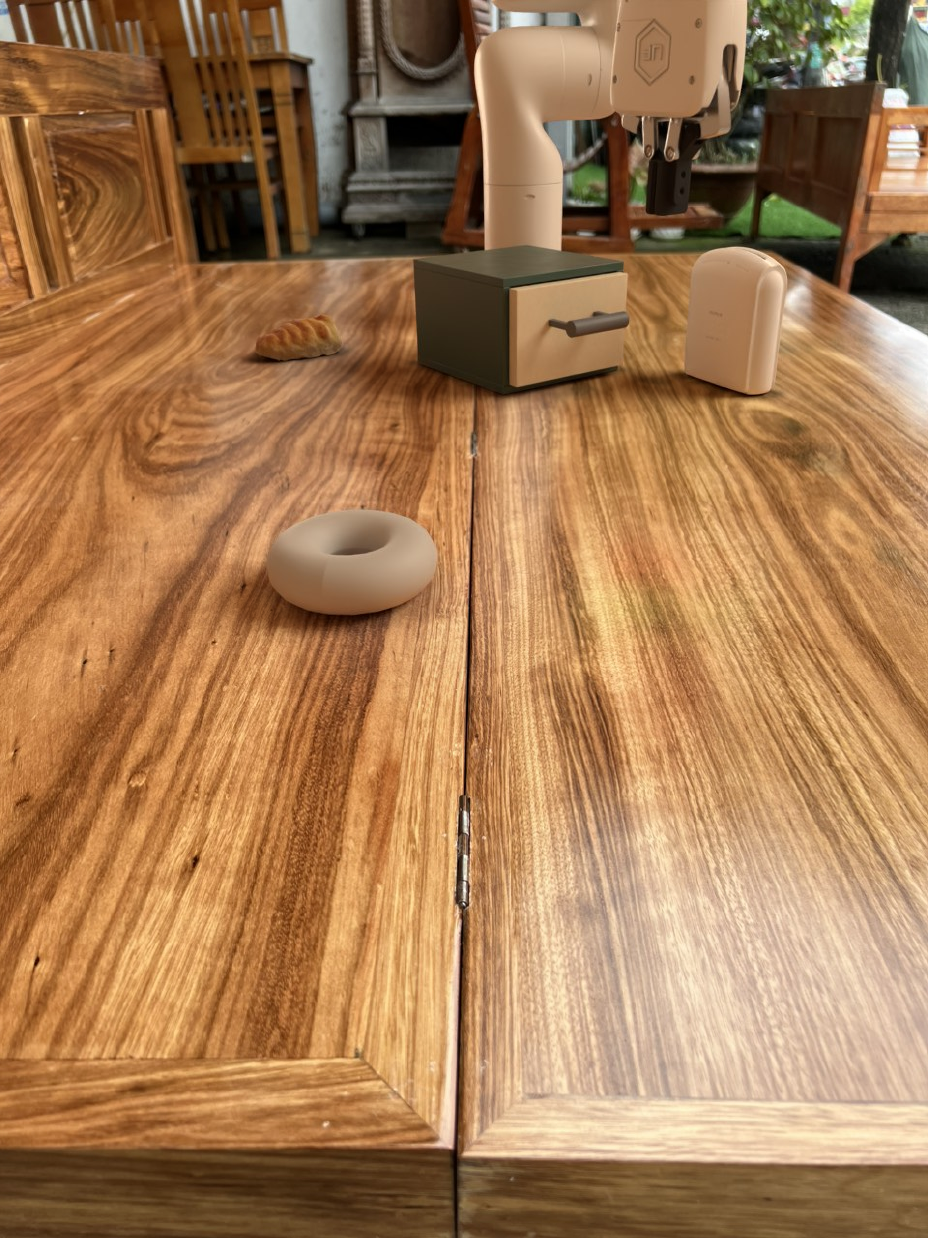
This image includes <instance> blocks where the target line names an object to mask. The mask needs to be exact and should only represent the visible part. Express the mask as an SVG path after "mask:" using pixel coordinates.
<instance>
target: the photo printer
mask: <svg viewBox="0 0 928 1238" xmlns="http://www.w3.org/2000/svg"><path fill="white" fill-rule="evenodd" d="M689 285H690V287H689V296H688V310H687V321H686V322H687V323H686V335H685V336H686V337H685V345H684V347H685V348H684V361H683V364H684V365H683V368H684V373H685V374H686V375H689V376H691V377H694V378H696V379H699V380H701V381H704V382H708V383H711V384H713V385H717V386H720V387H723V388H725V389H726V388H727V389H730V390H732V391H735V392H738V393H743V394H746V395H760V394H761V395H762V394H765V393H768V392H770V391H771V389H772V388H773V387H775V383H776V377H777V370H778V369H777V367H778V359H779V352H780V344H781V336H782V327H783V320H784V312H785V304H786V295H787V288H788V277H787V272H786V270H785V267H784V266H783V265H782V264H781V263H780V262H778V261H777V260H776V259H775V258H774V257H771V256H770V255H768V254H766V253H764V252H762V251H759V250H758V249H757V250H756V249H754V248H750V247H746V246H745V247H744V246H729V247H728V246H727V247H720V248H715V249H711V250H708V251H706V252H705V253H702V254H701V255H699V257H698V258H697V260H696V261H695V262H694V265H693V268H692V270H691V276H690V284H689Z"/></svg>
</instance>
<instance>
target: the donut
mask: <svg viewBox="0 0 928 1238" xmlns="http://www.w3.org/2000/svg"><path fill="white" fill-rule="evenodd" d="M438 558H439V552H438V547H437V546H436V543H435V541H434V540H433V538H432V537H431V534H430V533H429V531H428V530H427V529H426V528H424V527H423V526H422V525H420V524H419V523H418V522H416V521H414V520H413V519H411V518H410V517H407V516H403V515H401V514H398V513H395V512H390V511H383V510H378V509H377V510H376V509H344V510H343V509H342V510H335V511H329V512H325V513H321V514H316V515H313V516H311V517H308V518H306V519H303V520H301V521H299V522H298V521H297V522H296V523H293V524H292V525H290V526H289V527H288V528H286V529H284V530H283V531H282V532H281V533H280V534H279V535H277V537H275V539H274V541H273V543H272V544H271V547H270V548H269V550H268V552H267V555H266V563H265V565H266V571H267V576H268V577H267V578H268V580H269V583H270V585H271V586H272V588H273V589H274V590H275V592H277V593H278V594H279V595H280V597H282V598H283V599H284V600H285V601H286V602H288V603H290V604H291V605H293V606H296V607H298V608H299V609H300V608H301V609H303V610H305V611H307V612H312V613H318V614H322V615H329V616H356V615H364V614H371V613H378V612H381V611H385V610H388V609H392V608H396V607H398V606H401V605H403V604H404V603H407V602H409V601H410V600H412V599H414V598H415V597H417V596H418V595H419V594H420V593H422V591H423V590H424V589H425V588H426V587H427V586H428V585H429V584H430V583H431V582H432V580H433V578H434V576H435V575H436V574H435V573H436V569H437V564H438Z"/></svg>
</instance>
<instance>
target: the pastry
mask: <svg viewBox="0 0 928 1238" xmlns="http://www.w3.org/2000/svg"><path fill="white" fill-rule="evenodd" d="M342 339H343V338H342V337H341V335H340V331H339V329H338V328H337V327H336V324H335V321H334V320H333V318H331V316H329V315H327V314H319V315H314V316H313V317H306V318H295V319H291V320H289V321H288V322H286V323H282V324H281V325H280V326H278V327H276V328H274V329H271V330H269V331H268V332H266V333H264V334H263V335H262V336H259V337H258V338H257V339H256V342H255V350H254V351H255V355H257V356H263V357H266V358H270V359H274V360H277V361H278V362H279V361H281V360H282V361H285V362H286V361H289V360H300V359H302V358H316V357H320V356H321V355H326V356H331V355H334V354H336V353H338V352H340V349H341V347H342V345H343V340H342Z"/></svg>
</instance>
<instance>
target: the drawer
mask: <svg viewBox="0 0 928 1238" xmlns="http://www.w3.org/2000/svg"><path fill="white" fill-rule="evenodd" d="M628 279H629V273H628V272H624V271H623V272H616V273H610V274H605V273H599V274H592V275H585V276H579V277H572V278H565V279H559V280H552V281H545V282H547V283H544V284H537V285H530V286H524V287H517V288H514V287H515V286H512V287H510V289H509V384H510V385H512V386H515V387H520V386H525V385H529V384H534V383H539V382H544V381H548V380H553V379H558V378H562V377H567V376H572V375H576V374H581V373H586V372H590V371H595V370H600V369H604V368H609V367H614V366H618V367H619V366H622V365H624V349H625V348H624V347H625V332H626V328H628V326H629V324H630V316H629V315H630V314H629V313H628V312H627V296H628Z"/></svg>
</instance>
